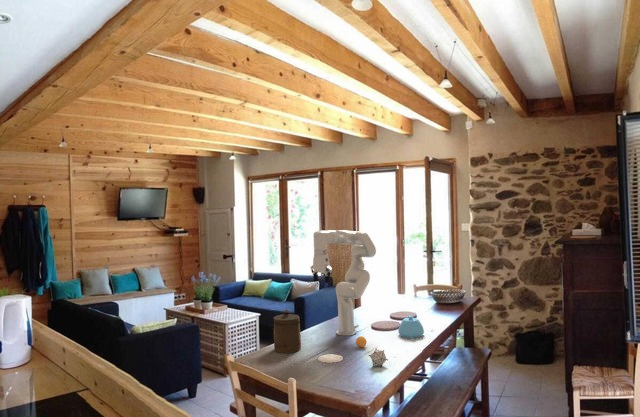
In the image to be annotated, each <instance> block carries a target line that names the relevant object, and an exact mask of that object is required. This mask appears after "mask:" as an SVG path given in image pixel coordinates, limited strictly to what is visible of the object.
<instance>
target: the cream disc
mask: <svg viewBox="0 0 640 417" xmlns="http://www.w3.org/2000/svg"><path fill="white" fill-rule="evenodd" d="M343 359H344V358H343V356H342V355H339V354H331V353H330V354H324V355H323V354H322V355H321V356H318V358H317V361H319V362H321V363H325V362H326V363H325V364H332V363H333V362H334V363H338V362H341V361H343Z"/></svg>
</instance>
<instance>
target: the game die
mask: <svg viewBox="0 0 640 417" xmlns="http://www.w3.org/2000/svg"><path fill="white" fill-rule="evenodd" d="M368 357H370V358H371V361H372V366H374V365H376V366H379V367H380V368H382V365H384V363H386V361H389V359H388V358H387V357H386V353H385V349H383V350H380V349H378V348H375V350H374V351H373V352H372V353H371V354H368Z"/></svg>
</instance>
